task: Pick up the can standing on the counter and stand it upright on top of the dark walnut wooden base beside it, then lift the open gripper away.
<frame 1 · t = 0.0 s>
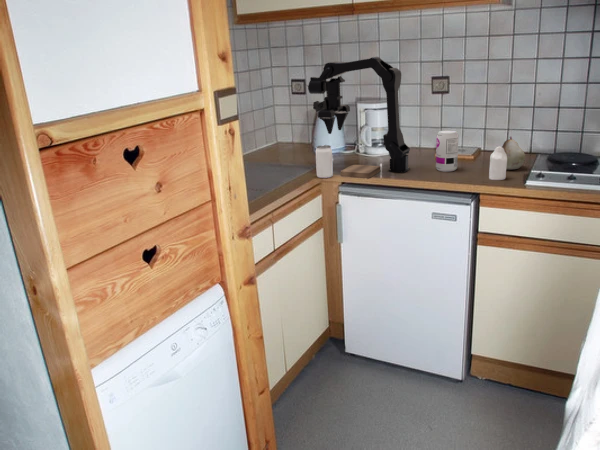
hand: (334, 131, 228), 15 cm above the counter, fingers open, 9 cm apart
can: (324, 176, 218), on the counter
fruit: (511, 169, 212), on the counter
supplement can: (446, 169, 217), on the counter
white bottle: (497, 178, 200), on the counter
base: (360, 173, 218), on the counter
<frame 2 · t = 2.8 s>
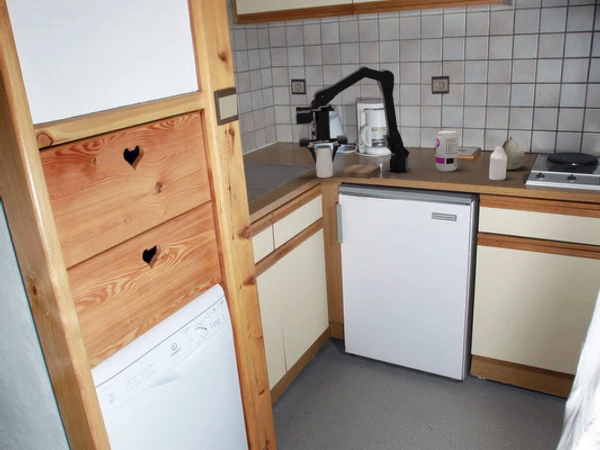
hand: (324, 162, 216), 6 cm above the counter, fingers closed on can, 6 cm apart
can: (324, 176, 218), on the counter, touching gripper
everything else where it was.
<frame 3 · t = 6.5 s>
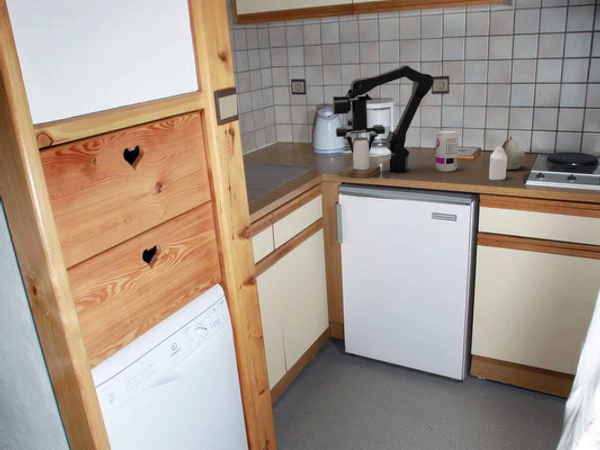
hand: (360, 152, 215), 9 cm above the counter, fingers open, 6 cm apart
can: (361, 169, 217), point 2 cm above the counter, touching base, gripper
everything else where it was.
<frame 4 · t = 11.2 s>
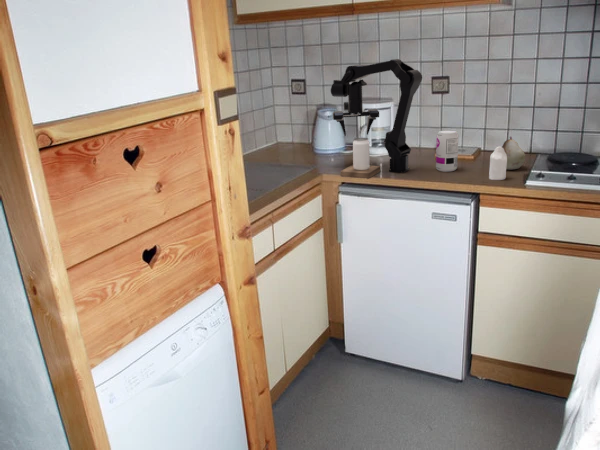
hand: (356, 135, 227), 13 cm above the counter, fingers open, 9 cm apart
can: (361, 169, 217), point 2 cm above the counter, touching base
everything else where it was.
at the end: can inside the target area on the base (0.4 cm from its centre), point 1.8 cm above the base's base; can tilted 0°; the gripper is holding nothing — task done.
